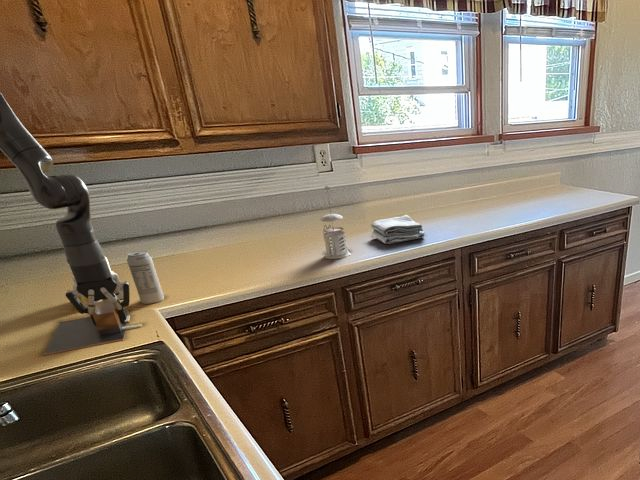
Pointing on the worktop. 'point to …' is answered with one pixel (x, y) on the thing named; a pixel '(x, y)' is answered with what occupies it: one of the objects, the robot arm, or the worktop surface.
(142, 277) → the energy drink can
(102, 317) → the eraser
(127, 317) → the smudge
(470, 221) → the worktop surface
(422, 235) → the towel
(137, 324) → the smudge
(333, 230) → the french press
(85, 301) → the supplement bottle
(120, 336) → the board
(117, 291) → the container
